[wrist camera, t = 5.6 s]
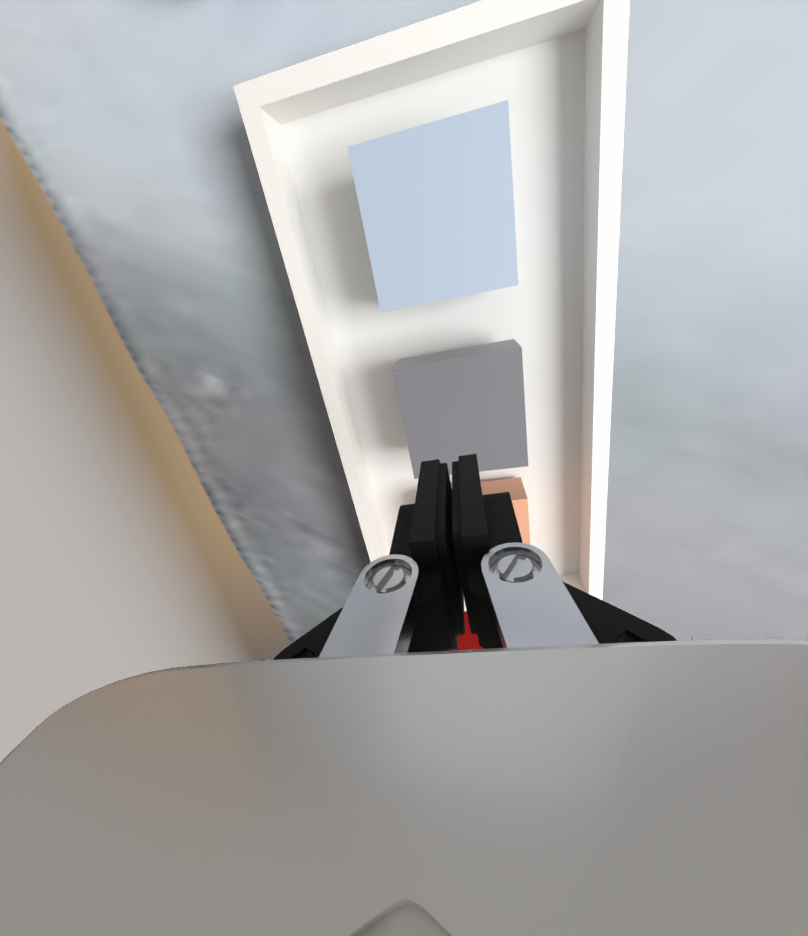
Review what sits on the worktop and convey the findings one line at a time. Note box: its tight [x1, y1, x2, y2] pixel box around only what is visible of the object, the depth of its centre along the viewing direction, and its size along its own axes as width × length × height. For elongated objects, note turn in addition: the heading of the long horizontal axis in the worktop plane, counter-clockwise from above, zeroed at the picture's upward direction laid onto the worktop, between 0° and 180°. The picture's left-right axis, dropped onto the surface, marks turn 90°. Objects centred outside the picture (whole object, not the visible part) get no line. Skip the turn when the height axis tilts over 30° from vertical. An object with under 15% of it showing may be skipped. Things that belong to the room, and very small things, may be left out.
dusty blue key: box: [347, 100, 518, 313], centre depth 15 cm, size 6×6×2 cm
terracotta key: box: [451, 477, 530, 545], centre depth 23 cm, size 6×6×2 cm
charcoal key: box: [392, 339, 528, 479], centre depth 19 cm, size 6×6×2 cm
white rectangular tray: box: [233, 0, 630, 611], centre depth 20 cm, size 14×28×3 cm, turn 11°
